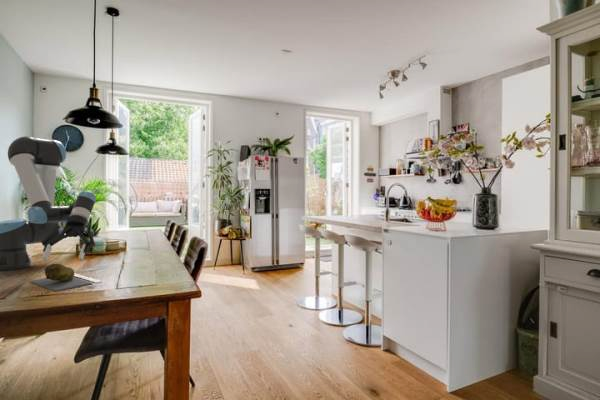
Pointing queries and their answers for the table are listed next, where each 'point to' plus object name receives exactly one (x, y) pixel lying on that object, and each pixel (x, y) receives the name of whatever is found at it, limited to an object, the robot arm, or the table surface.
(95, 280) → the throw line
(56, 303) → the table surface
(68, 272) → the potato
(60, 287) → the mat
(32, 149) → the robot arm
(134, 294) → the table surface
